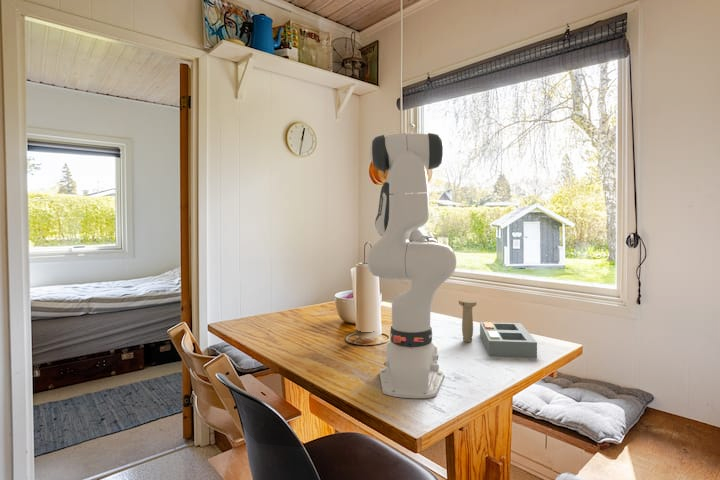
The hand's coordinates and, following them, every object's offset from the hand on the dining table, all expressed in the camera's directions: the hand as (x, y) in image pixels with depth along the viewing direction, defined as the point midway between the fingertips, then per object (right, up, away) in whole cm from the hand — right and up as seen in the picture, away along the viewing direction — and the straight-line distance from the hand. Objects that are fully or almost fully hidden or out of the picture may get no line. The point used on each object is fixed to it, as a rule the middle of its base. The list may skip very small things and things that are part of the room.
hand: (438, 266), depth 154 cm
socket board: (+23, -27, -11) cm, 38 cm away
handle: (+10, -28, -6) cm, 30 cm away
